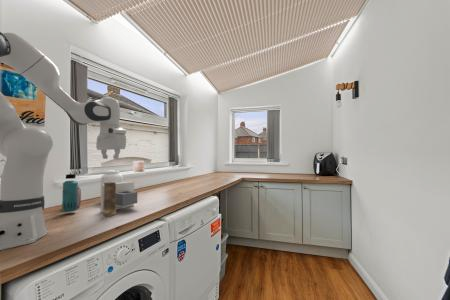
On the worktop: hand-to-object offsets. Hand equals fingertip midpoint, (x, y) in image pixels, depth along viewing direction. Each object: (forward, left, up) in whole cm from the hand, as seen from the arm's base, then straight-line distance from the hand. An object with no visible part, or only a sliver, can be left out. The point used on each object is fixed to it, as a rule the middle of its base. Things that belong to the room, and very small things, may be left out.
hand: (110, 158), depth 106 cm
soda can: (-3, +31, -28) cm, 42 cm away
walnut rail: (0, 0, -28) cm, 28 cm away
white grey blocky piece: (+10, +4, -28) cm, 30 cm away
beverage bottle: (-9, +20, -28) cm, 36 cm away
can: (+18, +29, -28) cm, 44 cm away
